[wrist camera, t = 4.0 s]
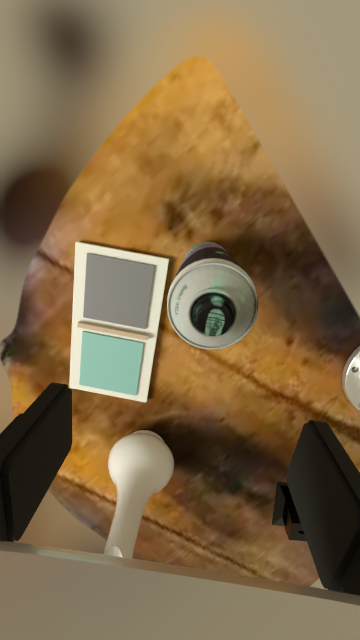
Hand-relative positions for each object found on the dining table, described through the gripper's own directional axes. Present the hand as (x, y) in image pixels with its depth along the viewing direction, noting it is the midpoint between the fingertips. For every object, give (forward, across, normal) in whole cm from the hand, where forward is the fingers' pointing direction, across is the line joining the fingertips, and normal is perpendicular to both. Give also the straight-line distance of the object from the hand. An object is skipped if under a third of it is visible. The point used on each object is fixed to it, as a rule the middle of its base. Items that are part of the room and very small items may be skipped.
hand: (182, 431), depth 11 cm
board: (+24, +9, +6) cm, 27 cm away
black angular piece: (+24, -21, +32) cm, 45 cm away
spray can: (+24, -1, -3) cm, 25 cm away
